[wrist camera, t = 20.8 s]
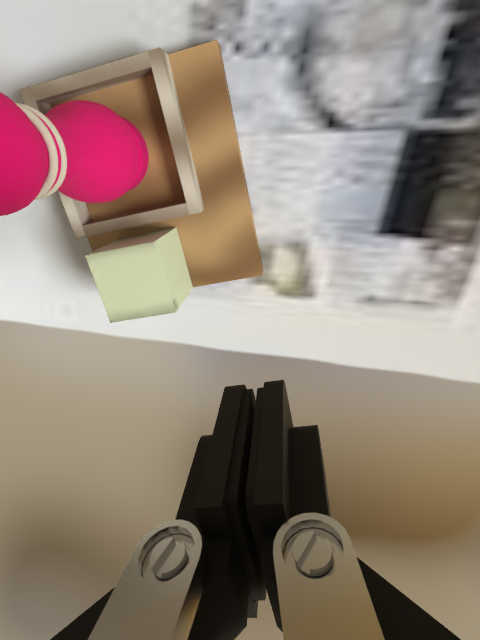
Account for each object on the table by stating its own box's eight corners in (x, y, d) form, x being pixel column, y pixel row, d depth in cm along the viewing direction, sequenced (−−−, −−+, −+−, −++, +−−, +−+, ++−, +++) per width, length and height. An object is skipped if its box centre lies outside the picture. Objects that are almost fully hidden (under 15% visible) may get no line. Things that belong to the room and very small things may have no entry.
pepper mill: (60, 128, 32) (-238, 90, 14) (131, 92, 30) (-101, -7, 12) (100, 209, 34) (-106, 268, 16) (168, 180, 33) (23, 209, 14)
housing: (117, 239, 35) (85, 255, 29) (176, 227, 34) (154, 241, 28) (137, 297, 37) (110, 322, 32) (192, 287, 36) (175, 312, 31)
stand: (45, 96, 32) (10, 87, 28) (219, 45, 29) (209, 27, 25) (117, 296, 39) (98, 312, 35) (263, 270, 37) (260, 285, 32)
